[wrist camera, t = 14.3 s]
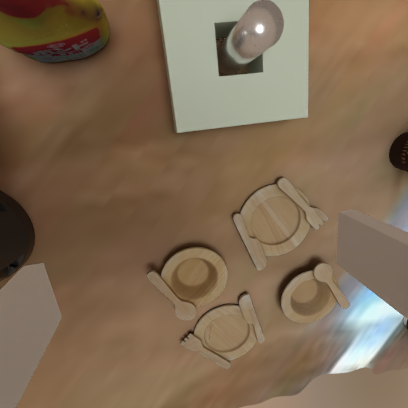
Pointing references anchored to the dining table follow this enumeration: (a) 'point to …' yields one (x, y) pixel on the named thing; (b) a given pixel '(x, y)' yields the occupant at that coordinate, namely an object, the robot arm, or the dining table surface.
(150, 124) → the dining table surface
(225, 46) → the long pin
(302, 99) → the pin block
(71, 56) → the bottle
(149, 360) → the dining table surface
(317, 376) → the dining table surface
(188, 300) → the tableware set
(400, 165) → the coffee mug
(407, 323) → the dixie cup
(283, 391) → the dining table surface
